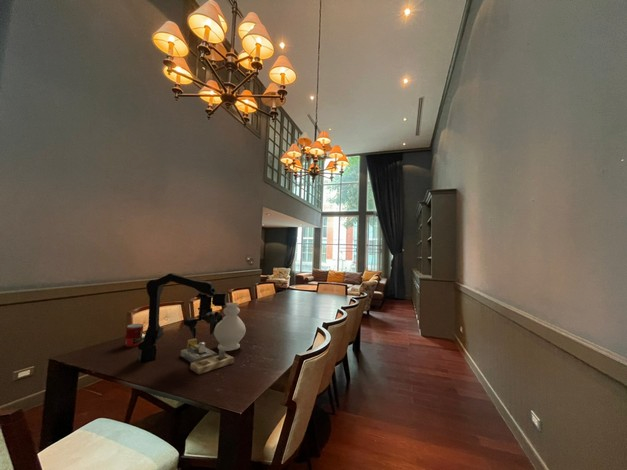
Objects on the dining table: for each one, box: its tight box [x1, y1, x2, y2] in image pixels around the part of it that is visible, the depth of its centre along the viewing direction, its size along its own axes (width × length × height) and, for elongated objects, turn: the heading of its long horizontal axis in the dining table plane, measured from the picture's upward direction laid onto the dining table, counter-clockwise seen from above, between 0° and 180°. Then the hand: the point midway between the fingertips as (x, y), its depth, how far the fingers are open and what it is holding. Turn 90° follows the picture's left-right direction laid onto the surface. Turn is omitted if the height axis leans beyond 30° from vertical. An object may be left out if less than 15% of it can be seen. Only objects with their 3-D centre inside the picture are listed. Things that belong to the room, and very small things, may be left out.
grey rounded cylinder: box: [198, 341, 206, 355], centre depth 129 cm, size 3×3×8 cm
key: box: [186, 337, 199, 351], centre depth 134 cm, size 4×8×4 cm, turn 51°
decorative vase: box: [213, 302, 246, 352], centre depth 149 cm, size 18×18×25 cm
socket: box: [180, 346, 218, 364], centre depth 131 cm, size 11×16×5 cm
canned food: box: [124, 323, 144, 348], centre depth 144 cm, size 8×8×11 cm
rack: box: [190, 349, 235, 375], centre depth 122 cm, size 18×8×6 cm, turn 142°
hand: (202, 336), depth 130 cm, fingers open, 9 cm apart
